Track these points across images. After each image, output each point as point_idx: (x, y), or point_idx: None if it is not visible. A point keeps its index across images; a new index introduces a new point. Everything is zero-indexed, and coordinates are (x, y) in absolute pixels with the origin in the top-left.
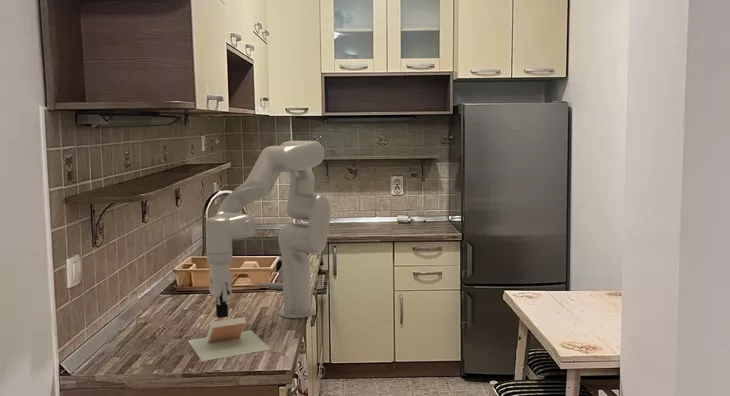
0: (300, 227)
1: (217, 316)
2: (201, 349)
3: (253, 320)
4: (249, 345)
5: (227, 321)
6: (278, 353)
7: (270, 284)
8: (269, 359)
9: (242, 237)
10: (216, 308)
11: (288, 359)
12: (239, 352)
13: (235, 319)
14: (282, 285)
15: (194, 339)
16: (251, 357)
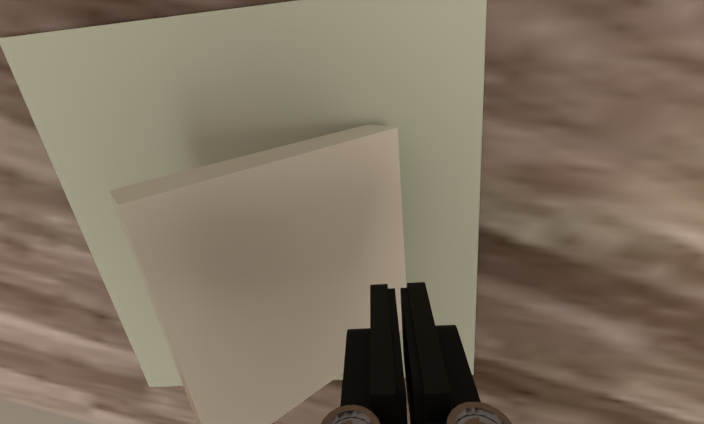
0: None
1: (372, 289)
2: (230, 63)
3: (666, 409)
4: None
5: (168, 338)
6: (121, 395)
7: None
8: (50, 354)
9: None
10: (415, 346)
11: (44, 407)
12: (126, 264)
13: (192, 399)
14: None
15: (479, 36)
16: (84, 298)
